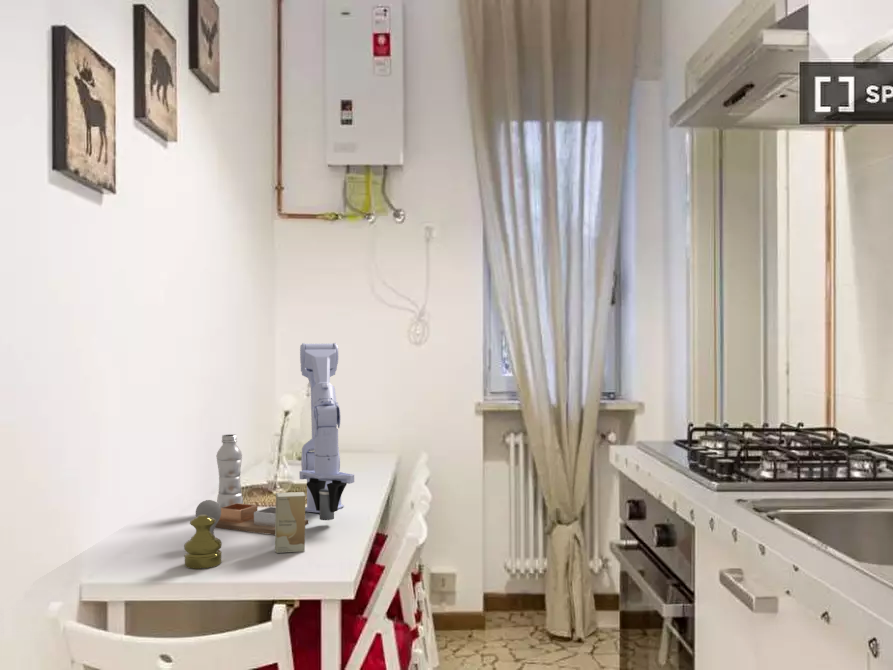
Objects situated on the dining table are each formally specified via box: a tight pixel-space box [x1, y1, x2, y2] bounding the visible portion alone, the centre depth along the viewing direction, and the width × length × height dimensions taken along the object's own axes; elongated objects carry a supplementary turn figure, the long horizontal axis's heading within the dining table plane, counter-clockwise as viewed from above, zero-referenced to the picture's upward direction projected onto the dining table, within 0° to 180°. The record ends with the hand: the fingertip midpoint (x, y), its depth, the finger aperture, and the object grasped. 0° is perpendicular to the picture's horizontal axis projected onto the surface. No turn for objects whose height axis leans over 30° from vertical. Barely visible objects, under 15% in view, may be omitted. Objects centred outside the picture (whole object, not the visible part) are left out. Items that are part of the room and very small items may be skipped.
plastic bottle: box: [216, 433, 244, 508], centre depth 216 cm, size 6×7×20 cm
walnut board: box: [214, 519, 309, 536], centre depth 201 cm, size 12×22×1 cm, turn 65°
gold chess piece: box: [183, 515, 223, 570], centre depth 168 cm, size 7×7×10 cm
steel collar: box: [254, 506, 276, 527], centre depth 199 cm, size 6×6×3 cm
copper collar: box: [219, 503, 258, 523], centre depth 204 cm, size 6×6×3 cm
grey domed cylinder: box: [319, 488, 335, 521], centre depth 200 cm, size 4×4×7 cm
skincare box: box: [274, 491, 307, 554], centre depth 178 cm, size 6×4×12 cm
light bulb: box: [195, 499, 221, 536], centre depth 183 cm, size 5×5×10 cm
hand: (326, 510), depth 200 cm, fingers closed on grey domed cylinder, 3 cm apart
